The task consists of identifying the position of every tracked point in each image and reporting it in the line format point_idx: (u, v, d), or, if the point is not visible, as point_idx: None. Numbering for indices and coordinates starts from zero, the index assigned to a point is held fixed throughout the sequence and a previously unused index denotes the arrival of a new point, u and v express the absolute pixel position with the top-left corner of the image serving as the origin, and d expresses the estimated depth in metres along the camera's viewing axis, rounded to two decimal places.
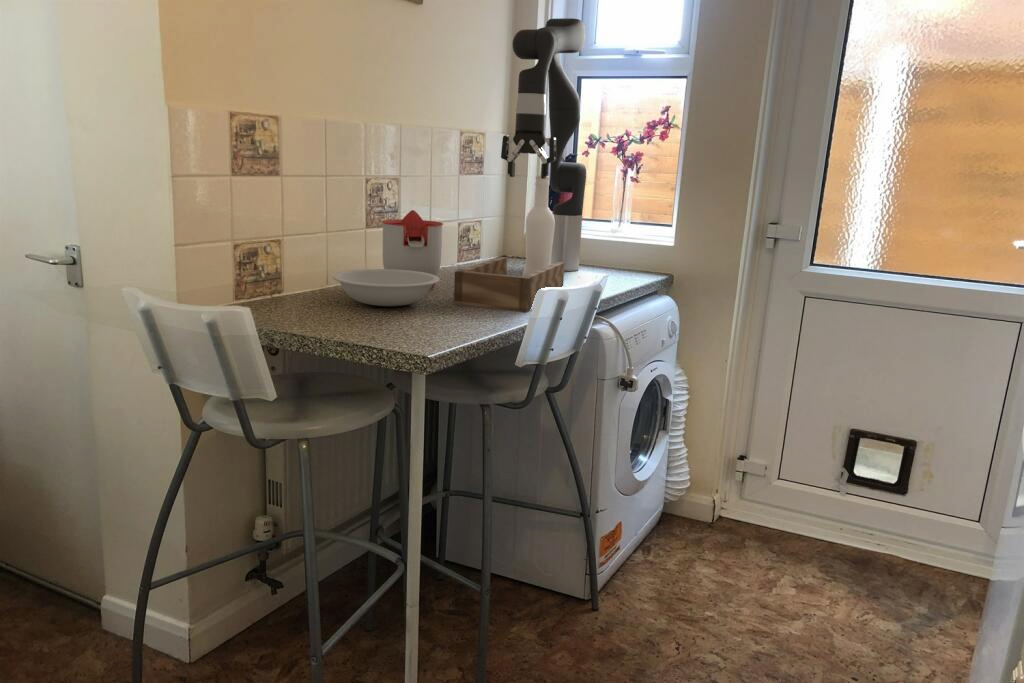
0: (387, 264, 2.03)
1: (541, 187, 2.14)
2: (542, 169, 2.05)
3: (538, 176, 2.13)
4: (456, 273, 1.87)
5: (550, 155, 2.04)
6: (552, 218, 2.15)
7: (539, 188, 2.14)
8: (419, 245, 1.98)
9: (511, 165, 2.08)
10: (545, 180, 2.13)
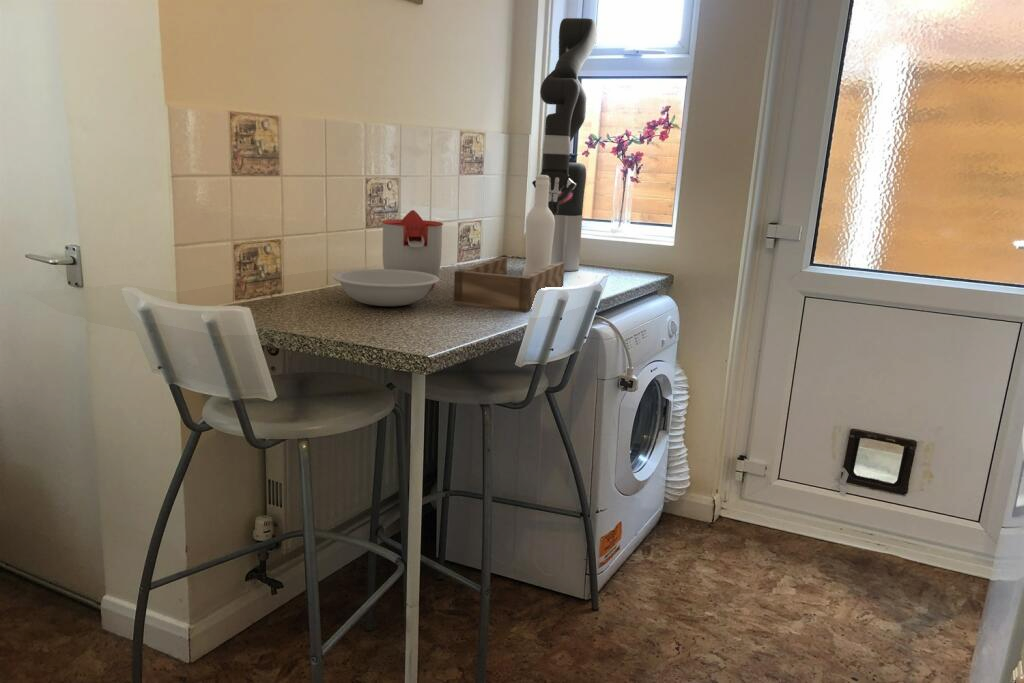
0: (387, 264, 2.03)
1: (541, 187, 2.14)
2: (553, 207, 2.27)
3: (538, 176, 2.13)
4: (456, 273, 1.87)
5: (562, 194, 2.25)
6: (552, 218, 2.15)
7: (539, 188, 2.14)
8: (419, 245, 1.98)
9: (551, 204, 2.27)
10: (545, 180, 2.13)
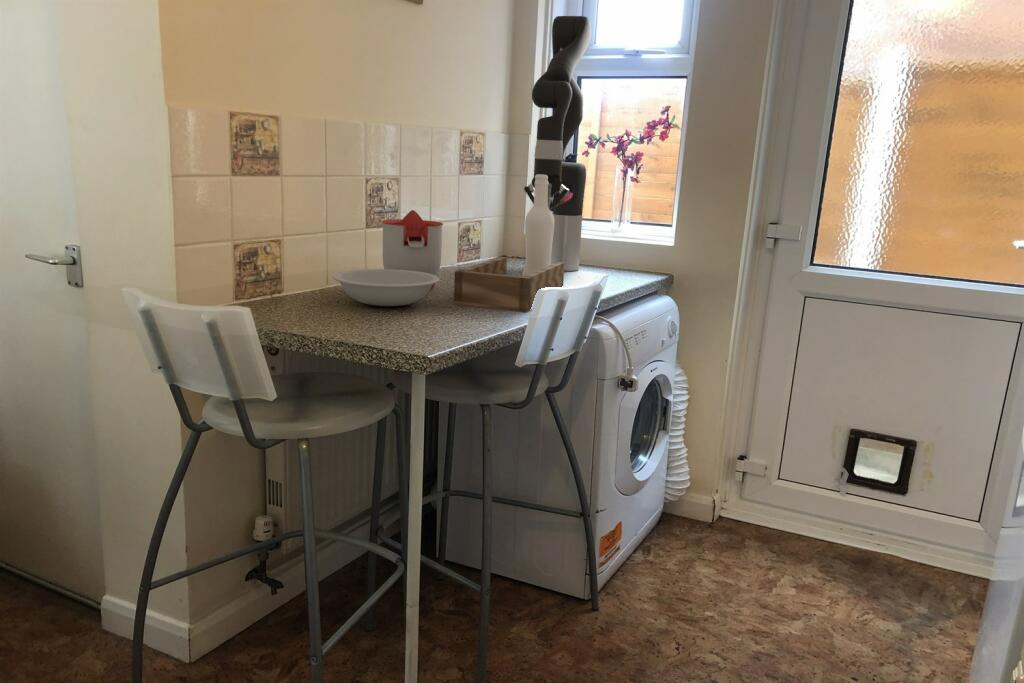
0: (387, 264, 2.03)
1: (540, 187, 2.13)
2: None
3: (537, 176, 2.12)
4: (456, 273, 1.87)
5: (555, 201, 2.18)
6: (551, 218, 2.15)
7: (538, 188, 2.13)
8: (419, 245, 1.98)
9: None
10: (544, 180, 2.12)
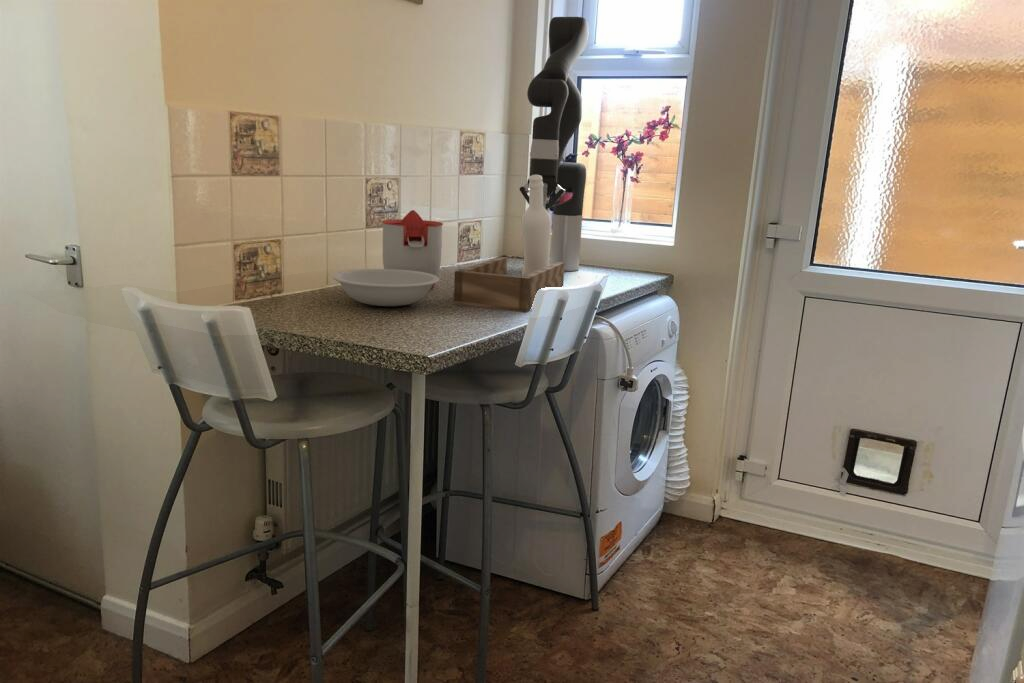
0: (387, 264, 2.03)
1: (535, 190, 2.07)
2: None
3: (531, 178, 2.06)
4: (456, 273, 1.87)
5: (551, 201, 2.14)
6: (548, 219, 2.10)
7: (533, 191, 2.07)
8: (419, 245, 1.98)
9: None
10: (539, 182, 2.06)
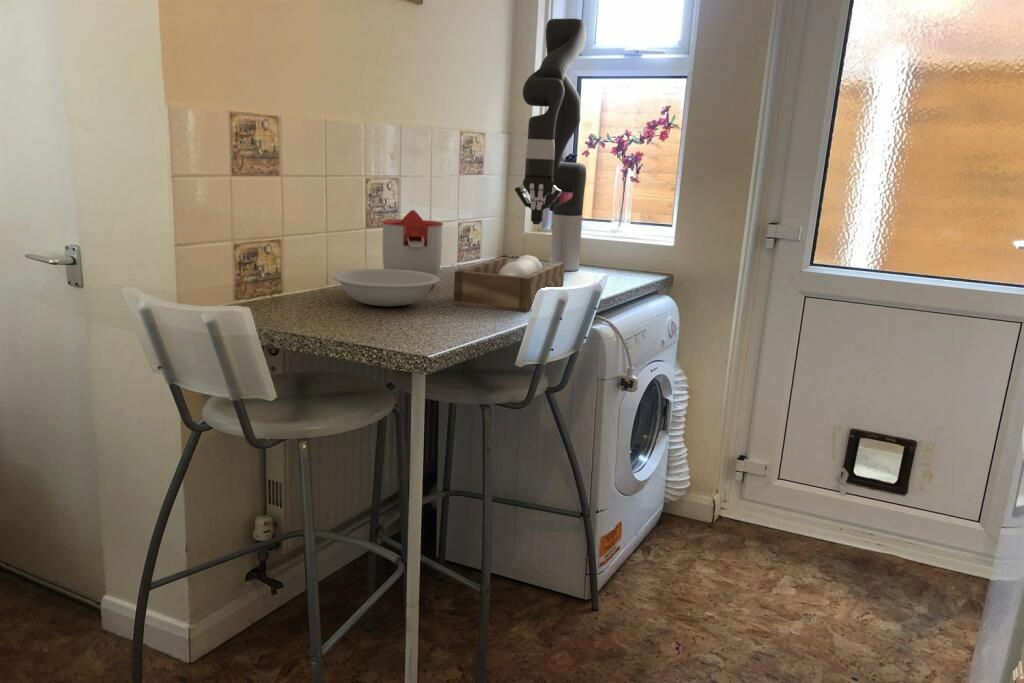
0: (387, 264, 2.03)
1: None
2: (537, 215, 2.12)
3: None
4: (456, 273, 1.87)
5: (547, 202, 2.11)
6: None
7: None
8: (419, 245, 1.98)
9: (534, 213, 2.12)
10: None
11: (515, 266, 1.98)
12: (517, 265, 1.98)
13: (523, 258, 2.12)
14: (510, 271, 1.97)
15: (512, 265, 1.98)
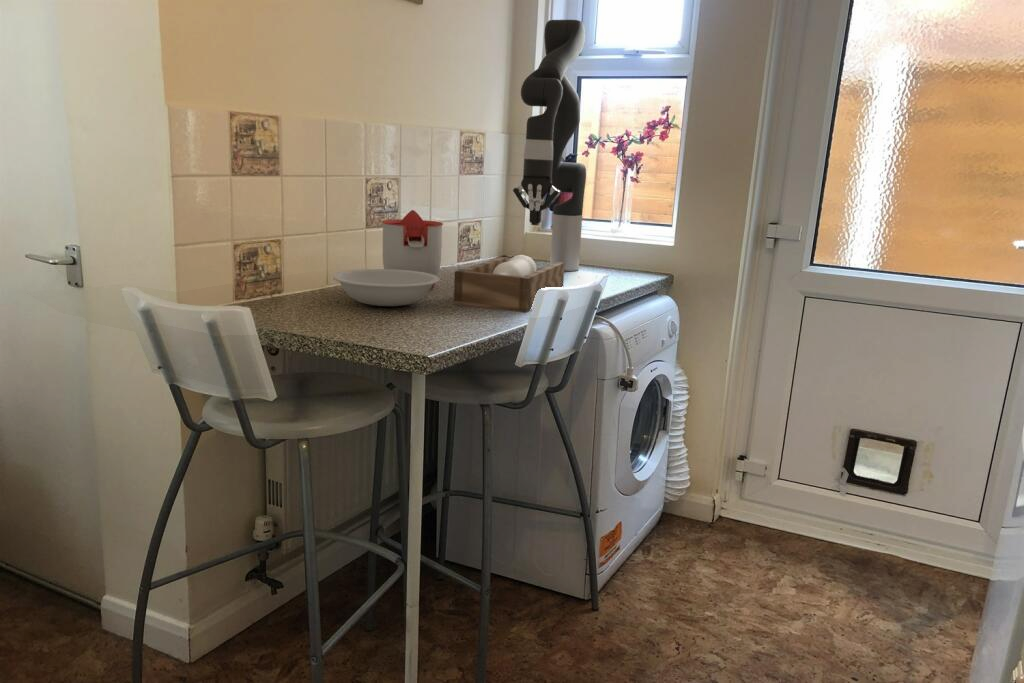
0: (387, 264, 2.03)
1: None
2: (535, 216, 2.11)
3: None
4: (456, 273, 1.87)
5: (545, 203, 2.09)
6: (518, 272, 1.99)
7: None
8: (419, 245, 1.98)
9: (533, 214, 2.11)
10: None
11: (503, 265, 1.98)
12: (505, 263, 1.99)
13: (512, 259, 2.12)
14: (500, 271, 1.97)
15: (500, 265, 1.99)
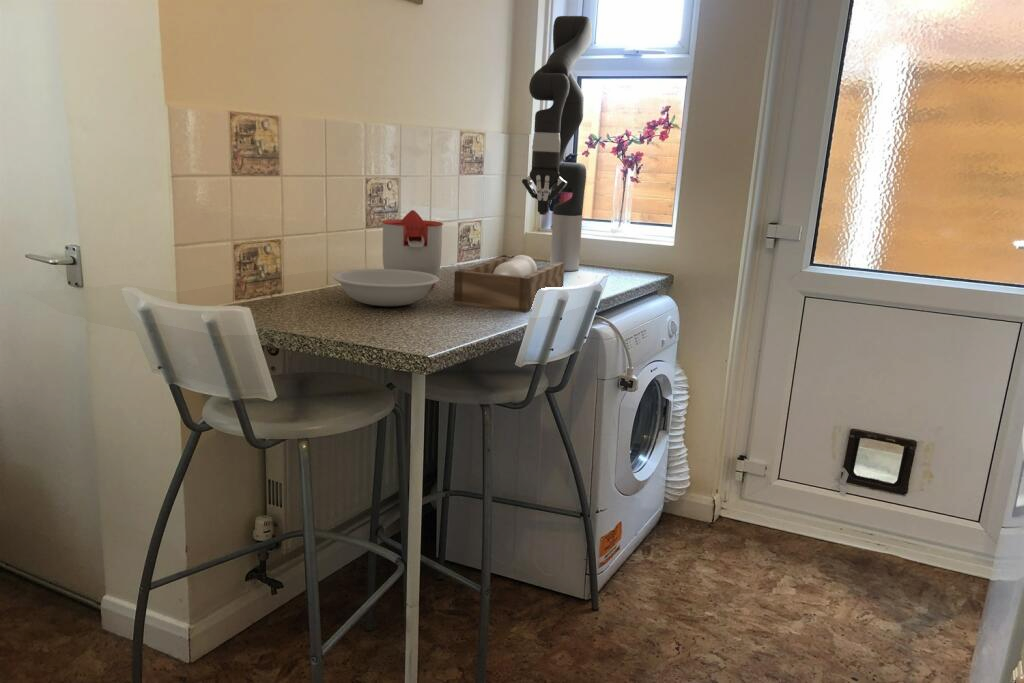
0: (387, 264, 2.03)
1: None
2: (543, 206, 2.20)
3: None
4: (456, 273, 1.87)
5: (553, 193, 2.19)
6: (519, 273, 1.99)
7: None
8: (419, 245, 1.98)
9: (541, 203, 2.20)
10: None
11: (504, 265, 1.98)
12: (506, 264, 1.99)
13: (513, 259, 2.12)
14: (500, 271, 1.97)
15: (501, 265, 1.99)
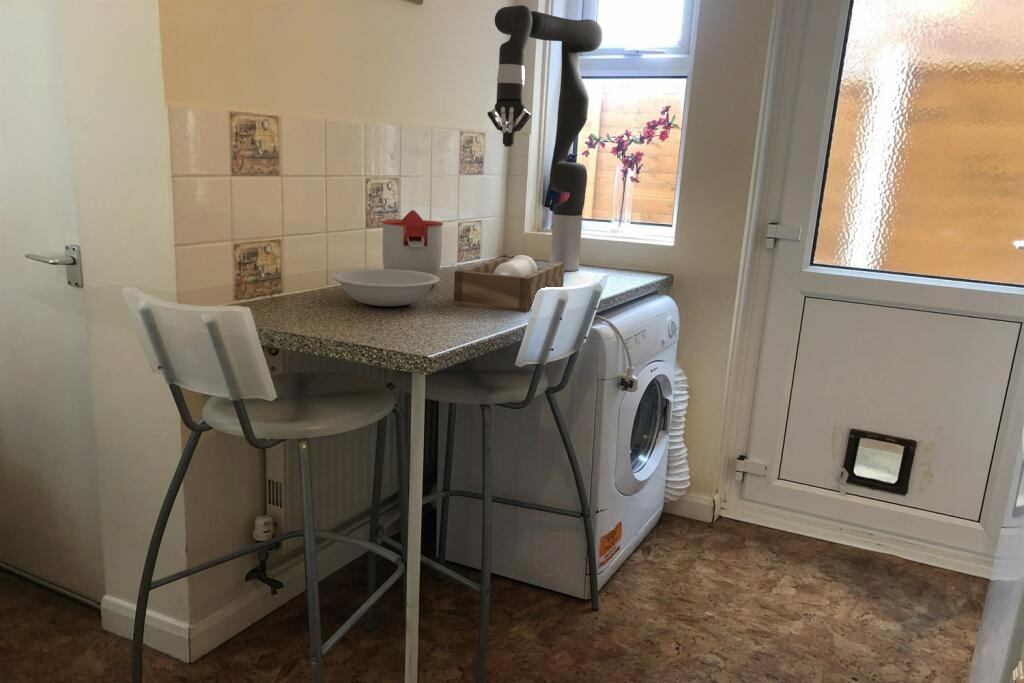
0: (387, 264, 2.03)
1: None
2: (508, 138, 2.26)
3: None
4: (456, 273, 1.87)
5: (517, 125, 2.24)
6: (519, 273, 1.99)
7: None
8: (419, 245, 1.98)
9: (506, 135, 2.26)
10: None
11: (504, 265, 1.98)
12: (506, 264, 1.99)
13: (513, 259, 2.12)
14: (501, 271, 1.97)
15: (501, 265, 1.99)
